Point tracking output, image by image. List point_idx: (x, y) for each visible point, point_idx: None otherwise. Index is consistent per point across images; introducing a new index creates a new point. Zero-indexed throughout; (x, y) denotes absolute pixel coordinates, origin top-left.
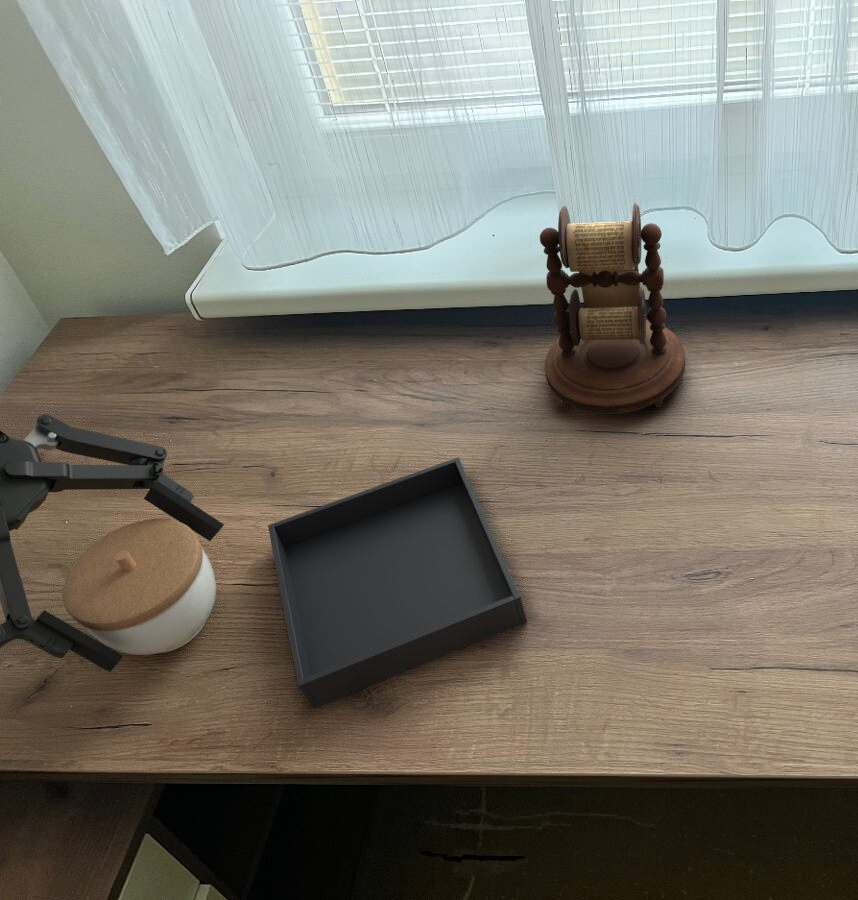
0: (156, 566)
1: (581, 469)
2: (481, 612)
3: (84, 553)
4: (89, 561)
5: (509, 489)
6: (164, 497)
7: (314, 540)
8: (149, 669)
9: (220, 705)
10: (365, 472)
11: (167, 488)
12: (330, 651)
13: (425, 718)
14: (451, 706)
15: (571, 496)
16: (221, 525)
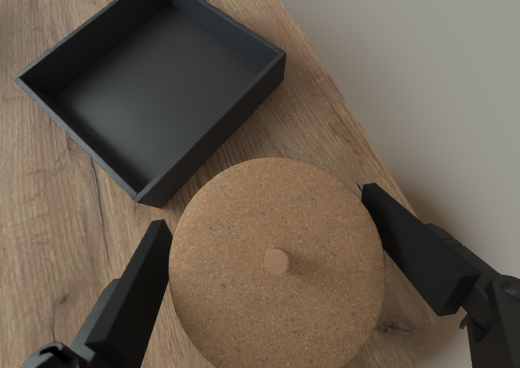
0: (257, 213)
1: (27, 33)
2: None
3: None
4: (298, 350)
5: None
6: (127, 306)
7: (142, 179)
8: None
9: (314, 142)
10: (48, 195)
11: (103, 313)
12: (239, 92)
13: (256, 18)
14: (242, 10)
15: (56, 27)
16: (154, 222)
